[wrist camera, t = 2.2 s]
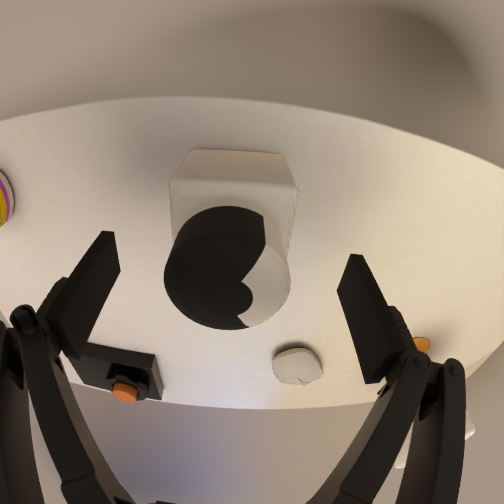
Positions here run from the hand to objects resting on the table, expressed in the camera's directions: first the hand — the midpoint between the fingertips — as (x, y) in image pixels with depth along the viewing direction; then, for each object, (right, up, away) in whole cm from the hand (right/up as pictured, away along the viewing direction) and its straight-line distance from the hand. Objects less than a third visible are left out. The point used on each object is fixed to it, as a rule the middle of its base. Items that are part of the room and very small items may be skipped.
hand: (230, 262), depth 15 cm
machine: (-19, -17, +22) cm, 34 cm away
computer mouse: (+7, -14, +21) cm, 26 cm away
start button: (-17, -19, +20) cm, 32 cm away
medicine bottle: (0, +5, +7) cm, 9 cm away
